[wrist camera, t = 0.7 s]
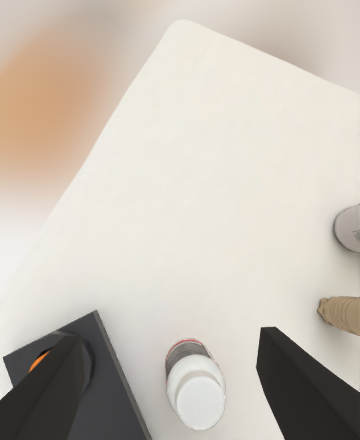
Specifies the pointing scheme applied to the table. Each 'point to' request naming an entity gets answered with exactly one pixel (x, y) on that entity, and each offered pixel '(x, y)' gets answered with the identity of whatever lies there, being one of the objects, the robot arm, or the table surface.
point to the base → (90, 383)
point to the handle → (342, 313)
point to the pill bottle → (195, 384)
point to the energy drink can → (349, 228)
